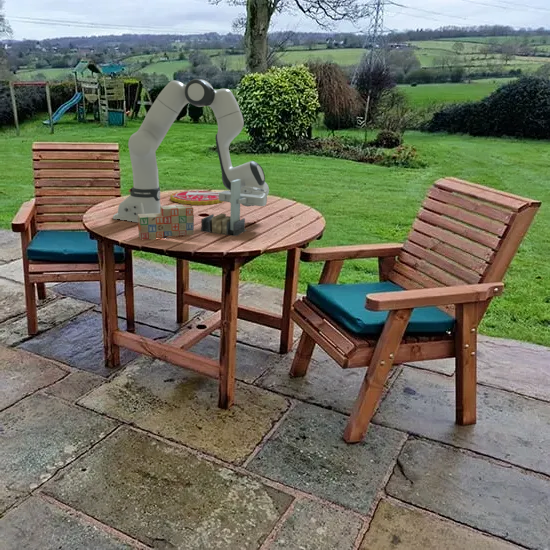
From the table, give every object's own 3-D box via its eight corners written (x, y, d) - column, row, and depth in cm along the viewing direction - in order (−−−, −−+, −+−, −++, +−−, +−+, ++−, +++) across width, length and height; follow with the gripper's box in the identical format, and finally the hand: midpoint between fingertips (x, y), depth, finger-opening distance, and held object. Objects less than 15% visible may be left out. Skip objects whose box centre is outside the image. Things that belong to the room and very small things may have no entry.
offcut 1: (211, 232, 219) (211, 217, 217) (221, 227, 227) (221, 213, 225) (216, 232, 219) (216, 218, 217) (225, 227, 226) (225, 213, 224)
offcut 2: (216, 232, 218) (216, 221, 216) (226, 227, 227) (226, 216, 225) (220, 233, 217) (220, 221, 216) (231, 228, 226) (231, 216, 224)
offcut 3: (222, 233, 218) (222, 220, 216) (230, 228, 225) (230, 216, 223) (226, 233, 217) (226, 220, 216) (235, 229, 225) (235, 216, 223)
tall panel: (230, 229, 217) (230, 181, 211) (236, 226, 223) (237, 179, 216) (233, 230, 217) (234, 181, 210) (239, 227, 222) (240, 179, 215)
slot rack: (199, 233, 220) (199, 219, 218) (212, 227, 230) (211, 213, 228) (236, 238, 215) (236, 224, 213) (247, 232, 225) (247, 218, 223)
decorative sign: (221, 189, 301) (231, 200, 274) (221, 193, 302) (231, 205, 275) (167, 190, 294) (172, 201, 267) (168, 194, 294) (173, 206, 267)
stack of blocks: (140, 240, 208) (139, 210, 204) (138, 236, 213) (136, 206, 209) (194, 237, 216) (193, 207, 211) (190, 233, 221) (190, 204, 217)
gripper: (226, 185, 230) (211, 191, 217) (270, 191, 223) (257, 196, 211) (226, 200, 232) (211, 206, 220) (269, 205, 225) (257, 212, 213)
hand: (234, 201), depth 215 cm, fingers closed on tall panel, 1 cm apart
